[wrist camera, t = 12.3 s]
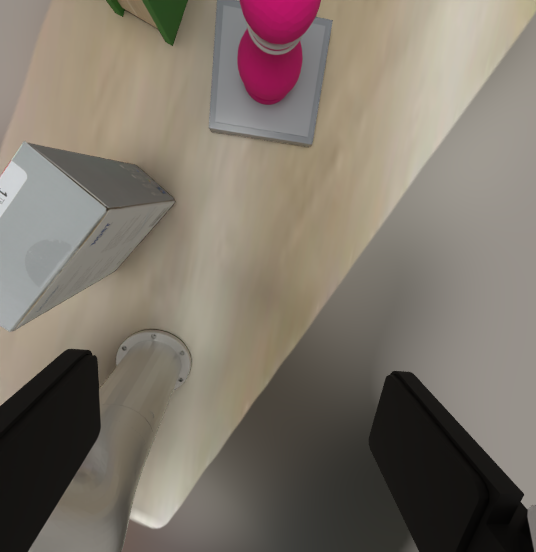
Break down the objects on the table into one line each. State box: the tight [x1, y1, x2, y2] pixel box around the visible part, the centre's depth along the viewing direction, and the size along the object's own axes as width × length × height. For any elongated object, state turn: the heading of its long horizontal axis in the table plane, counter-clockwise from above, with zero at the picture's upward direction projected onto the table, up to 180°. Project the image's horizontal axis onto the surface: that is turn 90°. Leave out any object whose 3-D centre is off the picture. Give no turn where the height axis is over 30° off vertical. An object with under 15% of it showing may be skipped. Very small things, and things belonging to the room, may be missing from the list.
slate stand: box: [209, 0, 333, 147], centre depth 36 cm, size 14×14×3 cm
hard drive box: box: [0, 141, 175, 332], centre depth 32 cm, size 16×8×20 cm, turn 136°
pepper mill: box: [237, 0, 321, 105], centre depth 25 cm, size 7×7×20 cm
